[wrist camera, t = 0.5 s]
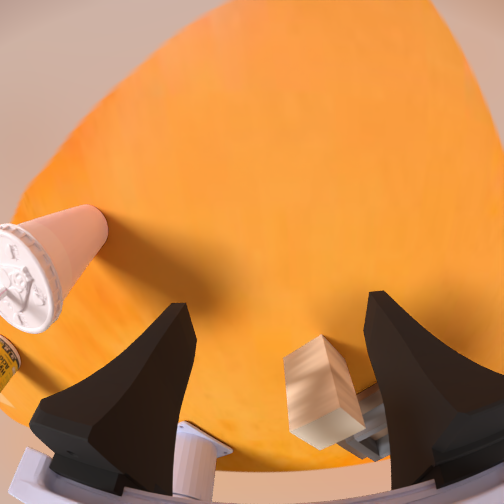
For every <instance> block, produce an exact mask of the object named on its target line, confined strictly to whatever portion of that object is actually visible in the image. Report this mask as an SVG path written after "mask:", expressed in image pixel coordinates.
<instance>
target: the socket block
mask: <svg viewBox="0 0 504 504" xmlns="http://www.w3.org/2000/svg"><path fill="white" fill-rule="evenodd" d="M356 396H357V400H358V403H359V406H360V410H361V413H362V416H363V420H364V423H365V427H366V429H364V430H362V431H360V432H358V433H356V434H354V435H352V436H350V437H348V438H346V439H344V440H342V441H339V442H337V443H336V444H338V445H340V446H341V447H343V448H344V449H346V450H347V451H349V452H351V453H352V454H354V455H356V456H357V457H359V458H360V459H364V458H366V457H368V458H370V459H372V460H373V461H375V462H376V461H378V460H380V459H382V458H384V457H386V456H388V455H390V445H389V436H388V428H387V421H386V415H385V409H384V404H383V400H382V396H381V392H380V389H379V386H378V383H376V384H374V385H372V386H371V387H369V388H367V389H366V390H364V391H362V392H361V393H359V394H357V395H356Z"/></svg>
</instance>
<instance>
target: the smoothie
mask: <svg viewBox="0 0 504 504" xmlns="http://www.w3.org/2000/svg"><path fill="white" fill-rule="evenodd" d="M107 237H108V225H107V221H106V219H105V217H104V215H103V214H102V213H101V211H99V210H98V209H97V208H96V207H94V206H91V205H80V206H77V207H73V208H70V209H66V210H63V211H59V212H56V213H53V214H49V215H46V216H43V217H40V218H37V219H33V220H30V221H27V222H23V223H21V224H18V225H14V224H10V223H7V224H1V225H0V315H1V316H2V317H3V318H4V319H5V320H6V321H7V322H8V323H10V324H11V325H13V326H14V327H15V328H17V329H19V330H21V331H24V332H27V333H32V334H38V333H42V332H44V331H46V330H47V329H48V328H49V327H50V325H51V324H53V323H54V322H55V321H56V320H57V319H58V317H59V315H60V313H61V311H62V304H63V300H64V299H65V298H66V296H67V295H68V293H69V291H70V290H71V289H72V287H73V286H74V284H75V283H76V281H77V280H78V278H79V277H80V276H81V274H82V273H83V271H84V270H85V269H86V267H87V266H88V265H89V263H90V262H91V261H92V259H93V258H94V256H95V255H96V254H97V253H98V251H99V250H100V249H101V247H102V246H103V245H104V243H105V242H106V240H107Z"/></svg>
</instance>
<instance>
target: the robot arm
mask: <svg viewBox="0 0 504 504" xmlns="http://www.w3.org/2000/svg"><path fill="white" fill-rule="evenodd" d="M363 331H364V336H365V341H366V346H367V351H368V355H369V358H370V361H371V364H372V367H373V370H374V373H375V376H376V380H377V383H378V386H379V389H380V392H381V396H382V400H383V404H384V409H385V415H386V421H387V428H388V436H389V445H390V458H391V482H392V483H391V484H392V485H391V486H392V487H391V491H387V492H382V493H377V494H372V495H366V496H362V497H355V498H348V499H342V500H333V501H324V502H313V503H299V504H504V375H502V374H499V373H496V372H494V371H492V370H490V369H487V368H485V367H483V366H481V365H479V364H477V363H475V362H473V361H471V360H469V359H468V358H466V357H464V356H462V355H461V354H459V353H457V352H456V351H454V350H453V349H451V348H450V347H448V346H447V345H446V344H444V343H443V342H441V341H440V340H439V339H437V338H436V337H435V336H433V335H432V334H431V333H430V332H428V331H427V330H426V329H425V328H424V327H422V326H421V325H420V324H419V323H418V322H417V321H416V320H414V319H413V318H412V317H411V316H410V315H409V314H408V313H407V312H406V311H405V310H404V309H403V308H402V307H400V306H399V305H398V304H397V303H396V302H395V301H394V300H393V299H392V298H391V297H390V296H389V295H388V294H387V293H386V292H385V291H374V292H369V297H368V304H367V311H366V318H365V324H364V330H363ZM196 343H197V338H196V335H195V332H194V328H193V325H192V322H191V318H190V315H189V312H188V308H187V305H186V303H172V304H171V305H170V306H169V307H168V308H167V309H166V310H165V311H164V312H163V313H162V314H161V315H160V316H159V317H158V318H157V319H156V320H155V321H154V322H153V323H152V324H151V325H150V326H149V327H148V328H147V329H146V330H145V331H144V333H143V334H142V335H141V336H139V337H138V338H137V339H136V340H135V341H134V342H133V343H132V344H131V345H130V346H129V347H128V348H127V349H126V350H124V351H123V352H122V353H121V354H120V355H119V356H117V357H116V358H115V359H113V360H112V361H111V362H110V363H108V364H107V365H106V366H104V367H103V368H101V369H100V370H98V371H97V372H95V373H94V374H92V375H91V376H89V377H88V378H86V379H84V380H82V381H81V382H79V383H77V384H75V385H73V386H71V387H69V388H67V389H65V390H63V391H61V392H59V393H56V394H54V395H51V396H49V397H47V398H44V399H42V400H41V401H40V403H39V405H38V407H37V409H36V411H35V413H34V415H33V417H32V419H31V421H30V423H29V426H30V429H31V430H32V432H33V433H34V434H35V435H36V436H37V437H38V438H39V439H40V440H41V441H42V442H43V443H44V444H46V446H48V447H49V448H50V449H51V450H52V451H53V452H54V453H55V454H54V457H53V458H51V457H49V456H48V455H46V454H44V453H41V452H39V451H37V450H35V449H32V448H30V447H26V450H25V452H24V454H23V456H22V459H21V461H20V463H19V466H18V468H17V470H16V473H15V475H14V478H13V480H12V482H11V485H10V487H9V490H8V492H9V494H10V495H12V496H14V497H15V498H17V499H18V500H20V501H22V502H23V503H25V504H234V503H220V502H212V495H213V486H214V477H215V468H216V459H217V458H219V457H222V456H225V455H227V454H230V453H232V452H233V449H232V448H230V447H228V446H227V445H225V444H223V443H221V442H220V441H218V440H216V439H214V438H213V437H211V436H209V435H208V434H206V433H204V432H203V431H201V430H200V429H198V428H196V427H195V426H193V425H192V424H190V423H189V422H186V421H182V422H180V423H178V420H179V414H180V409H181V405H182V401H183V398H184V394H185V391H186V387H187V384H188V380H189V377H190V373H191V370H192V366H193V362H194V357H195V350H196Z"/></svg>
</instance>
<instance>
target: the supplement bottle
mask: <svg viewBox="0 0 504 504" xmlns="http://www.w3.org/2000/svg"><path fill="white" fill-rule="evenodd" d="M20 365H21V359H20V356H19V354H18V352H17V350H16V349H15V347H14V346H13V345H12V344H11V343H10V342H9V341H8V340H7V339H6V338H5V337H3V336H2V335H0V392H1V391H2V390H3V388H4V387H5V386H6V384H7V383H8V382H9V380H10V379H11V378H12V376H13V375H14V374H15V373H16V371H17V370H18V369H19V367H20Z"/></svg>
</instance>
